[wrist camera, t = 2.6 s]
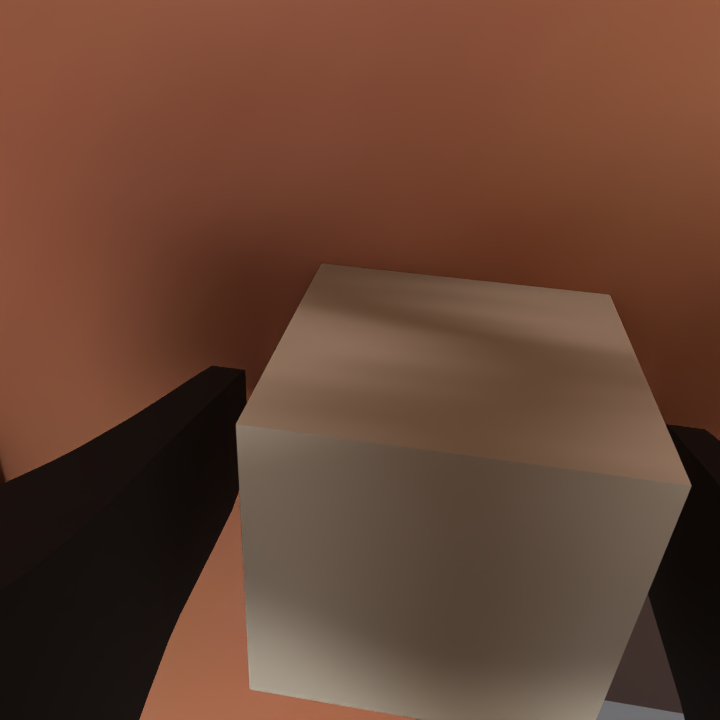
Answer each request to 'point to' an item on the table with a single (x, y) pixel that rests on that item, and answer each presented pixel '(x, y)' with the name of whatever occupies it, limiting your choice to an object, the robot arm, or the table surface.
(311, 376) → the maple cube
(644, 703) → the grey base
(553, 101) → the table surface
